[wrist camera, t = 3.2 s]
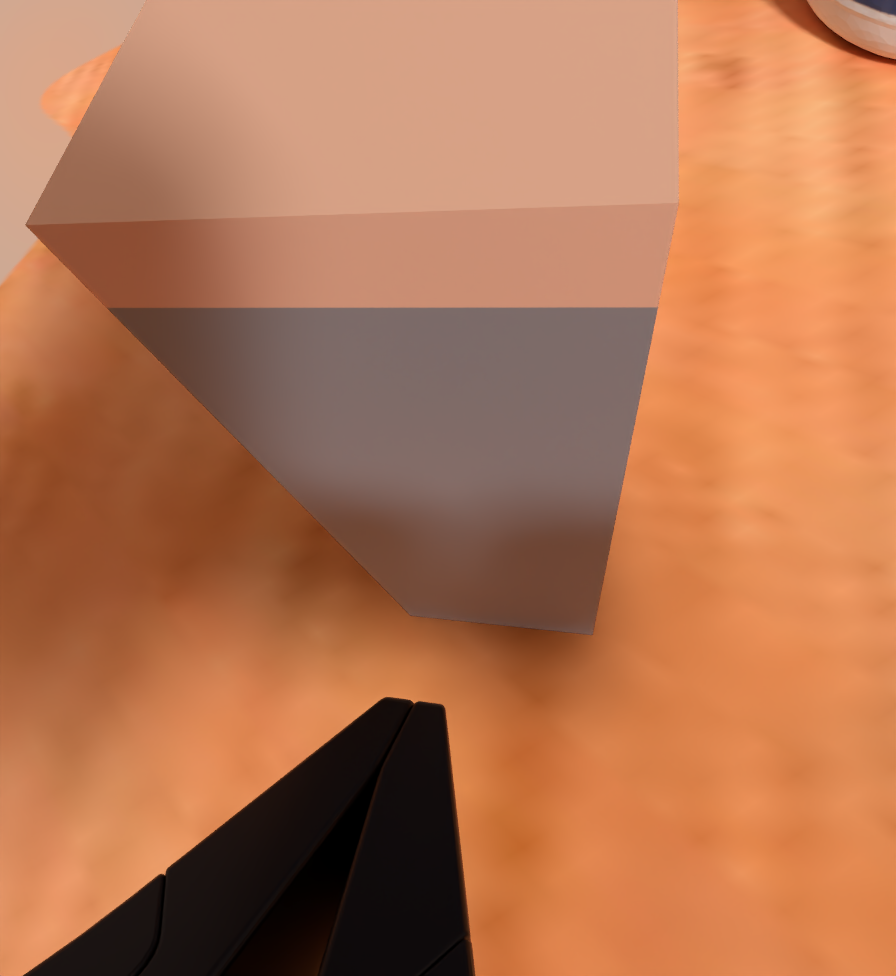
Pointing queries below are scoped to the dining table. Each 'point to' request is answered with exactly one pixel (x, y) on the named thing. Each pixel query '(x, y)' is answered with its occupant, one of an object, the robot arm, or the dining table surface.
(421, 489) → the charcoal block
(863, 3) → the supplement tub
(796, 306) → the dining table surface
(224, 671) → the dining table surface
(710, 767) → the dining table surface
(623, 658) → the dining table surface
